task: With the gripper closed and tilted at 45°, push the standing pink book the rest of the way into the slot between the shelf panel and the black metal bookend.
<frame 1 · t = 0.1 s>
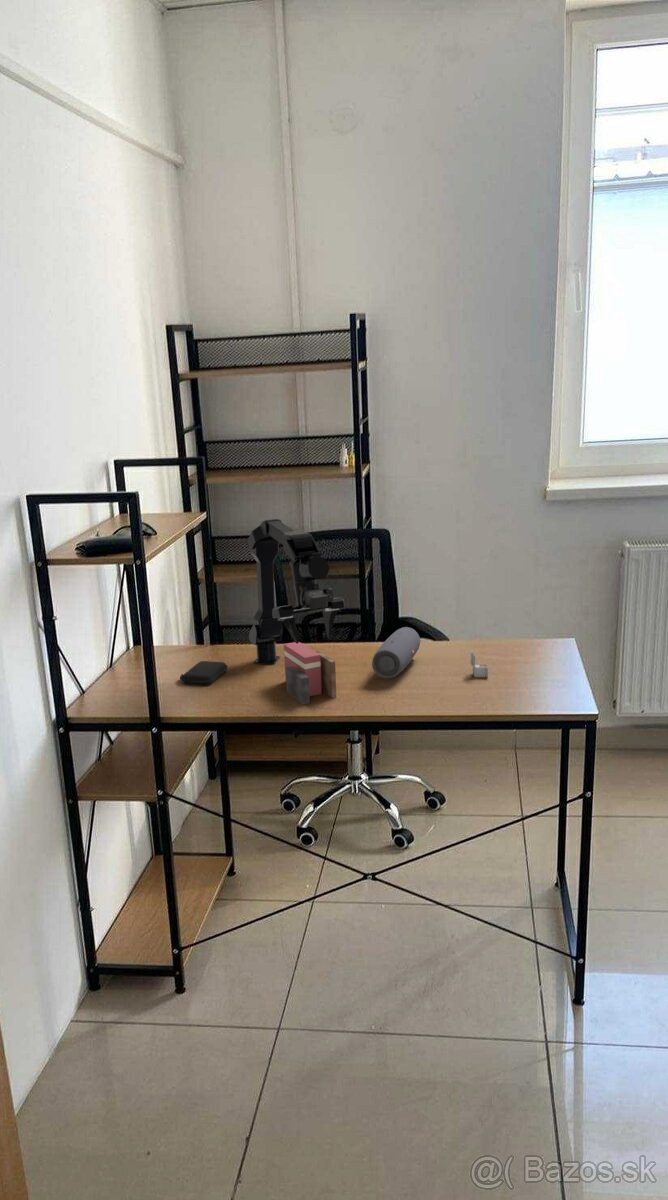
hand: (313, 640, 236), 15 cm above the table, tool pointing down, fingers open, 9 cm apart
carrying case or bag: (203, 678, 258), on the table
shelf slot: (312, 694, 241), on the table
architectural model: (486, 672, 255), on the table
book: (303, 687, 247), on the table
bluetooth speaker: (397, 670, 258), on the table
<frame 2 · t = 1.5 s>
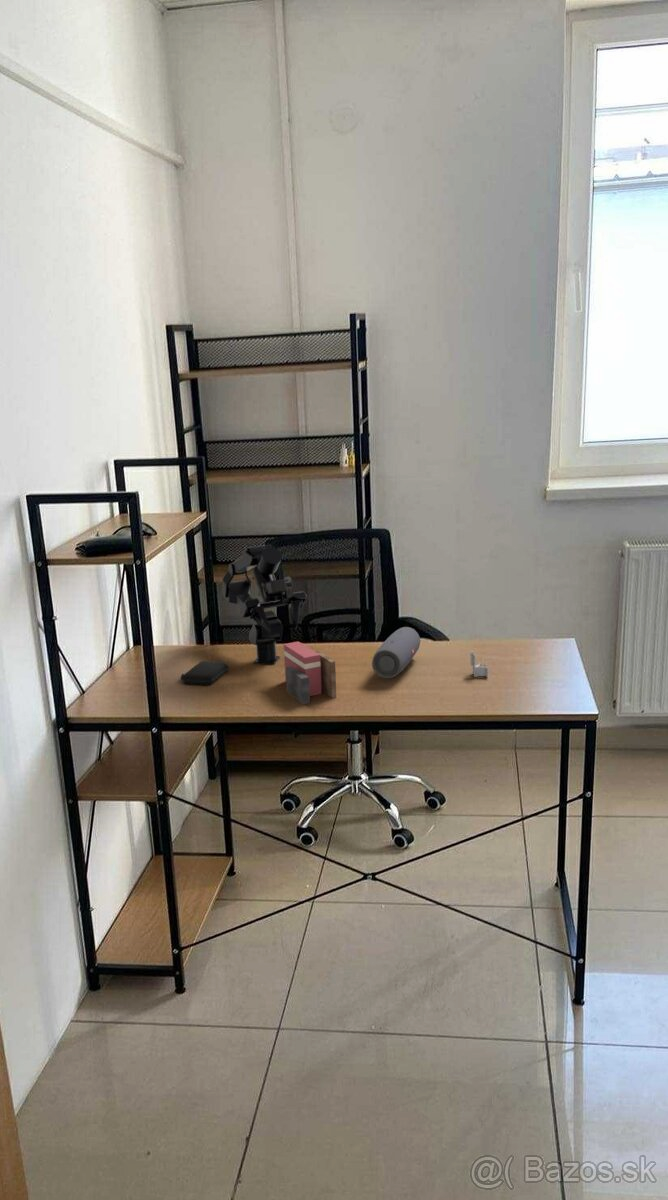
hand: (283, 629, 254), 13 cm above the table, tool tilted 45°, fingers open, 8 cm apart
nothing on the table moved.
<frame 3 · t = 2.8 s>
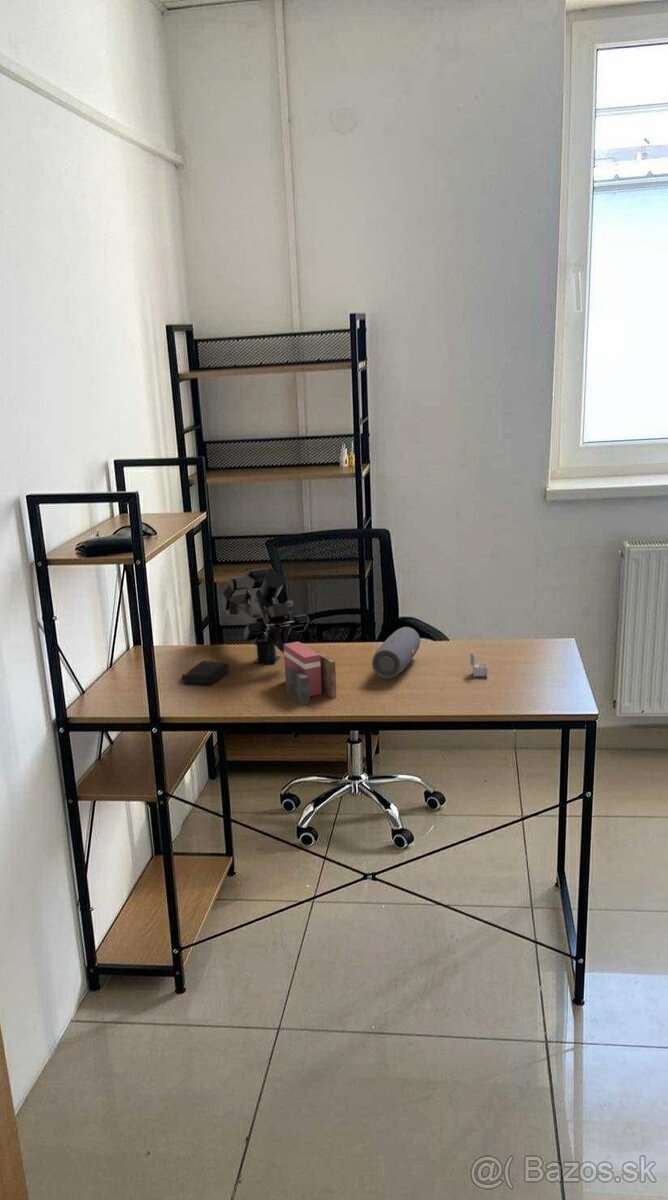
hand: (285, 653, 255), 7 cm above the table, tool tilted 45°, fingers closed
nothing on the table moved.
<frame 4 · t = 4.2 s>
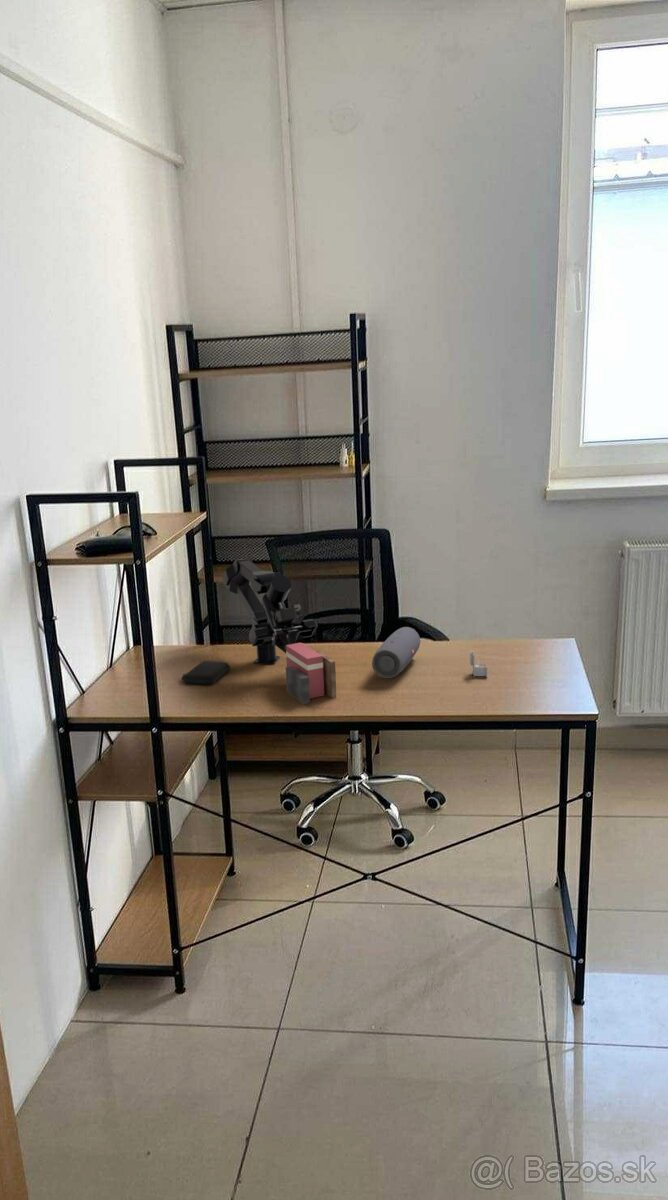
hand: (293, 658, 250), 7 cm above the table, tool tilted 45°, fingers closed, pressing on book
book: (305, 688, 245), on the table, touching gripper
everything else where it was.
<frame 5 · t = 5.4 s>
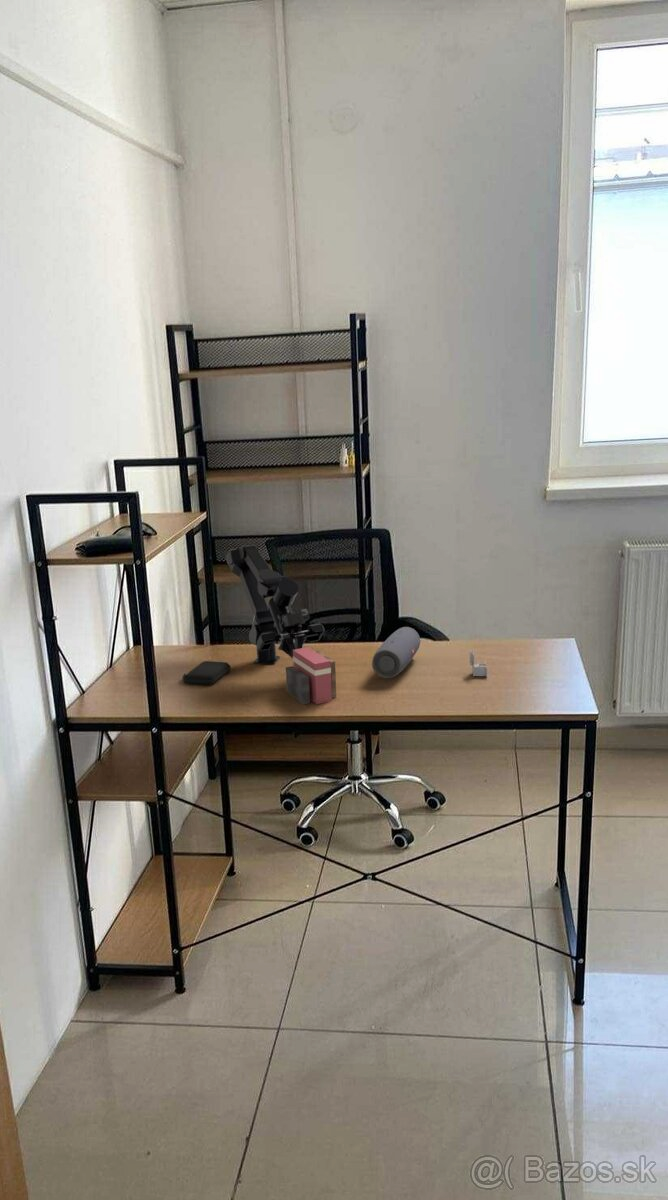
hand: (300, 663, 246), 7 cm above the table, tool tilted 45°, fingers closed
book: (312, 694, 241), on the table
everything else where it was.
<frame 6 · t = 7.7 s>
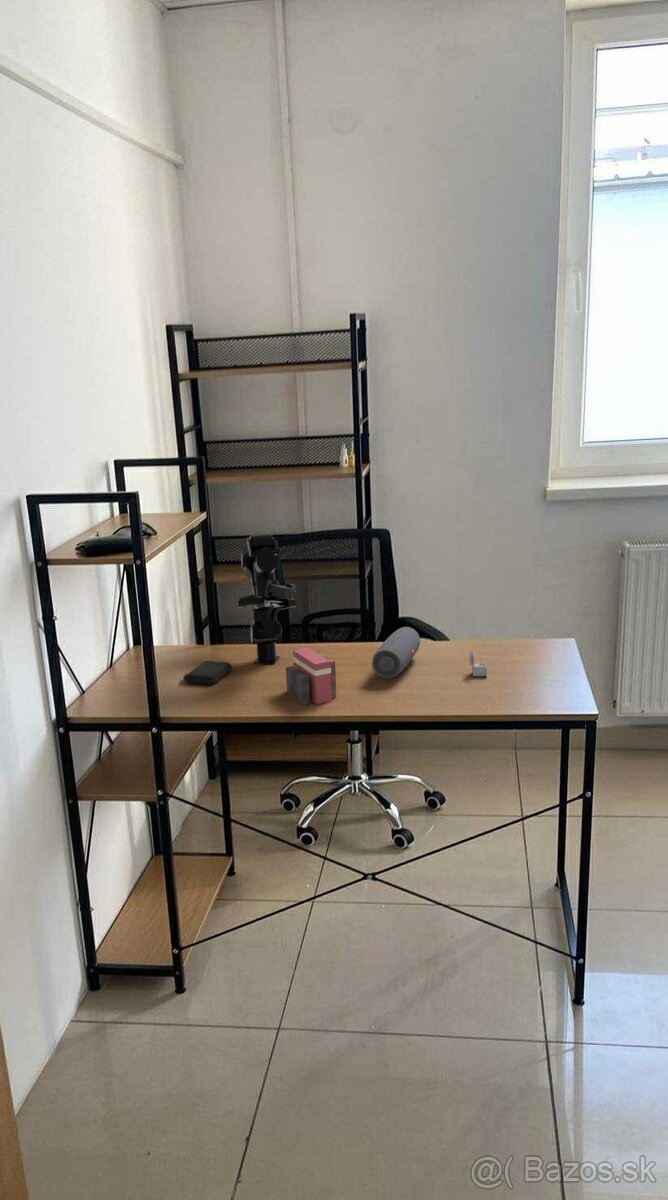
hand: (270, 632, 253), 13 cm above the table, tool tilted 25°, fingers closed
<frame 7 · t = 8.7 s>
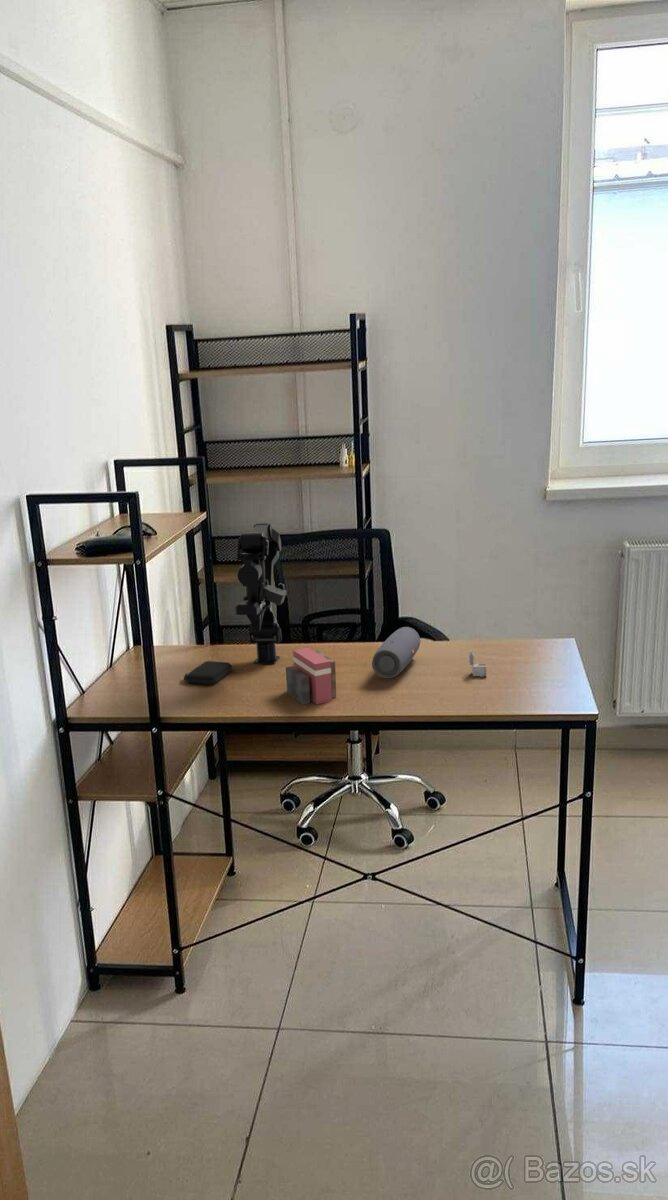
hand: (258, 631, 255), 13 cm above the table, tool pointing down, fingers closed
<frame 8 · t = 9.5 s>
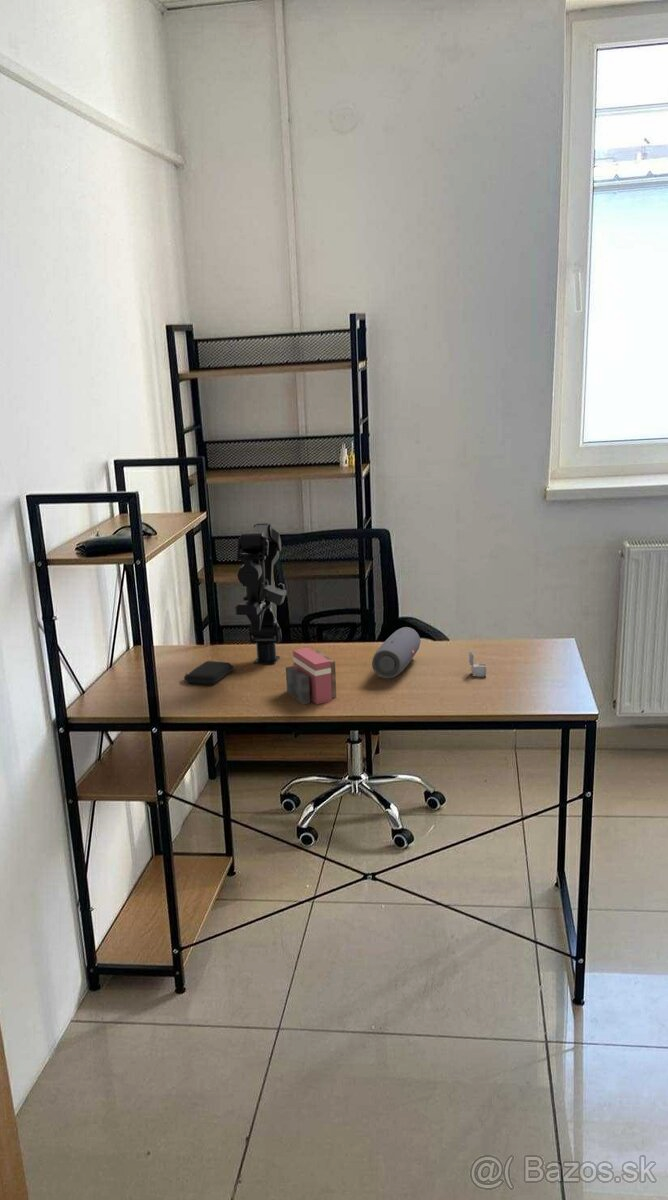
hand: (258, 631, 255), 13 cm above the table, tool pointing down, fingers closed
at the end: book 0.0 cm off-centre on the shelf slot, point 0.0 cm above the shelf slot's base; book tilted 0°; book moved 6.3 cm from its start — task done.
